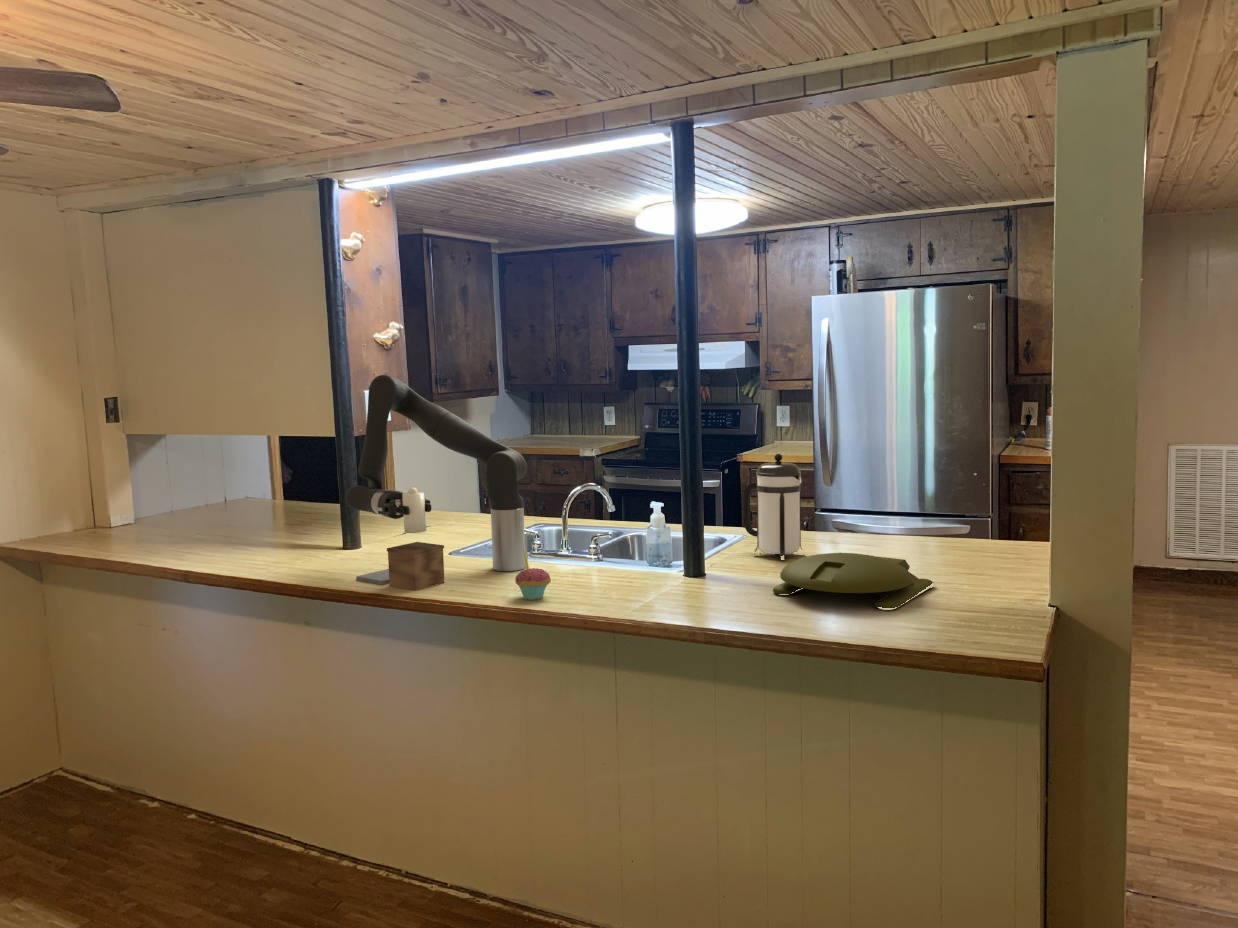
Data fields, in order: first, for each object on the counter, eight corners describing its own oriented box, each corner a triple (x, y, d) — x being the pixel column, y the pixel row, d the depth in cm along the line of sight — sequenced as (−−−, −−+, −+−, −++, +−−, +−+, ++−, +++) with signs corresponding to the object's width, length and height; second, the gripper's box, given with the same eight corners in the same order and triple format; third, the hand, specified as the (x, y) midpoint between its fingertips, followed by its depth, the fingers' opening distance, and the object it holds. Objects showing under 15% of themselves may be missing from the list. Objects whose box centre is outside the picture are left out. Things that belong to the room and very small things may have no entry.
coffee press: (801, 550, 269) (801, 450, 266) (807, 561, 253) (807, 455, 250) (743, 550, 270) (742, 451, 268) (745, 561, 255) (744, 456, 252)
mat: (391, 571, 252) (390, 568, 252) (417, 575, 245) (417, 572, 245) (356, 579, 242) (356, 576, 242) (383, 584, 236) (383, 580, 235)
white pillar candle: (416, 528, 238) (413, 485, 237) (430, 530, 234) (428, 486, 233) (399, 532, 233) (397, 488, 232) (414, 533, 230) (411, 489, 229)
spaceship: (820, 573, 239) (820, 537, 238) (937, 588, 220) (937, 549, 219) (756, 601, 211) (756, 560, 210) (883, 620, 192) (883, 576, 191)
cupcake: (518, 602, 213) (517, 553, 212) (513, 594, 221) (511, 546, 220) (554, 599, 216) (552, 550, 214) (547, 591, 224) (546, 544, 223)
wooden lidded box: (418, 578, 242) (416, 541, 242) (445, 582, 236) (444, 545, 236) (388, 585, 234) (386, 548, 233) (415, 590, 228) (413, 551, 227)
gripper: (364, 493, 239) (392, 498, 226) (413, 487, 248) (442, 491, 235) (365, 520, 240) (393, 527, 227) (414, 514, 249) (444, 520, 236)
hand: (418, 509), depth 231 cm, fingers closed on white pillar candle, 5 cm apart
